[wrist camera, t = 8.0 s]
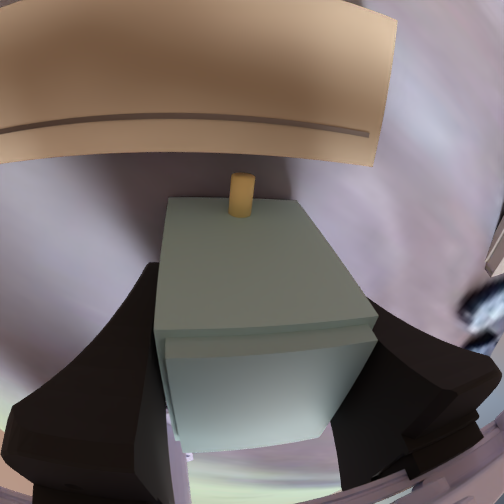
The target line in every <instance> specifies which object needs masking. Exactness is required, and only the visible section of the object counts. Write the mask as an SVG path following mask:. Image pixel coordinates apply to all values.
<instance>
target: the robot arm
mask: <svg viewBox="0 0 504 504" xmlns="http://www.w3.org/2000/svg"><path fill="white" fill-rule="evenodd" d="M159 264H160V262H149V263H148V264H147V265H146V267H145V269H144V270H143V272H142V274H141V276H140V277H139V279H138V281H137V282H136V284H135V285H134V287H133V289H132V290H131V292H130V293H129V295H128V296H127V298H126V299H125V301H124V302H123V303H122V305H121V306H120V307H119V309H118V310H117V311H116V313H115V314H114V315H113V317H112V318H111V319H110V321H109V322H108V323H107V324H106V326H105V327H104V328H103V329H102V330H101V332H100V333H99V334H98V335H97V336H96V337H95V338H94V339H93V341H92V342H91V343H90V344H89V345H88V346H87V347H86V348H85V349H84V350H83V351H82V352H81V353H80V354H79V355H78V356H77V357H76V358H75V359H74V360H73V361H72V362H71V363H70V364H68V365H67V366H66V367H65V368H64V369H63V370H61V371H60V372H59V373H58V374H57V375H55V376H54V377H53V378H52V379H51V380H49V381H48V382H47V383H46V384H44V385H43V386H41V387H40V388H39V389H37V390H36V391H34V392H33V393H31V394H30V395H28V396H27V397H25V398H24V399H23V400H21V401H20V402H18V403H16V404H15V405H13V406H12V409H11V412H10V414H9V417H8V420H7V425H6V429H5V434H4V439H3V444H2V450H1V456H2V458H3V460H4V461H5V463H6V464H8V465H9V466H10V467H11V468H12V469H14V470H15V471H16V472H18V473H19V474H20V475H22V476H24V477H25V478H26V479H28V480H29V481H31V482H32V483H34V486H33V497H32V496H28V495H25V494H22V493H19V492H15V491H12V490H9V489H7V488H3V487H0V504H192V502H191V494H190V486H189V477H188V468H187V461H192V460H193V453H183V452H182V448H181V443H180V441H175V437H174V433H173V429H172V425H171V420H170V416H169V411H168V409H166V397H165V392H164V387H163V382H162V377H161V371H160V366H159V360H158V354H157V348H156V342H155V335H154V317H155V305H156V293H157V283H158V273H159ZM367 299H368V300H369V302H370V303H371V305H372V306H373V308H374V309H375V311H376V312H377V314H378V315H379V316H378V318H377V321H376V323H375V325H374V327H373V329H372V331H373V333H374V334H375V336H376V338H377V339H378V341H377V343H376V345H375V347H374V349H373V351H372V352H371V354H370V356H369V358H368V360H367V362H366V363H365V365H364V367H363V369H362V370H361V372H360V374H359V376H358V377H357V379H356V381H355V382H354V384H353V386H352V387H351V389H350V391H349V392H348V394H347V396H346V397H345V399H344V400H343V402H342V404H341V405H340V407H339V408H338V410H337V411H336V413H335V414H334V416H333V417H332V419H331V420H330V422H331V427H332V431H333V436H334V441H335V446H336V451H337V457H338V464H339V471H340V479H341V488H342V491H343V492H339V493H336V494H333V495H329V496H325V497H321V498H317V499H313V500H309V501H305V502H300V503H296V504H374V503H376V502H379V501H382V500H384V499H386V498H389V497H391V496H394V495H396V494H398V493H400V492H403V491H405V490H407V489H409V488H411V487H413V486H414V487H413V489H412V492H411V493H409V494H408V495H405V496H404V497H401V498H399V499H397V500H396V501H394V502H392V503H390V504H494V503H495V502H496V501H497V500H498V499H499V498H500V496H501V495H502V494H503V493H504V411H503V412H501V413H500V414H499V415H498V416H497V418H496V419H495V420H494V421H492V422H491V423H489V424H488V425H486V426H485V427H483V428H481V429H479V427H478V425H477V424H476V422H475V421H476V420H477V419H478V418H479V414H478V413H477V411H476V409H477V408H478V406H480V404H481V403H482V402H483V401H484V400H485V399H486V398H487V397H488V396H489V395H490V394H491V393H492V392H493V390H494V389H495V388H496V387H497V385H498V384H499V382H500V381H501V378H502V373H501V371H500V370H499V368H498V367H497V366H496V364H495V363H494V361H493V360H492V359H491V358H490V357H489V356H487V355H483V354H480V353H476V352H473V351H469V350H466V349H463V348H460V347H457V346H455V345H452V344H450V343H447V342H444V341H442V340H440V339H437V338H435V337H433V336H431V335H429V334H427V333H425V332H423V331H421V330H419V329H417V328H415V327H413V326H411V325H409V324H407V323H406V322H404V321H402V320H401V319H399V318H397V317H396V316H394V315H392V314H391V313H389V312H388V311H386V310H385V309H383V308H382V307H380V306H379V305H377V304H376V303H374V302H373V301H372V300H370V299H369V298H367Z"/></svg>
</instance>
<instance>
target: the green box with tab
mask: <svg viewBox="0 0 504 504" xmlns="http://www.w3.org/2000/svg"><path fill="white" fill-rule="evenodd" d="M254 184H255V176H254V175H252V174H249V173H242V172H238V173H233V174H232V175H231V186H230V197H229V198H208V197H168V204H167V210H166V217H165V224H164V232H163V239H162V247H161V255H160V264H159V273H158V283H157V293H156V305H155V317H154V335H155V342H156V348H157V354H158V360H159V366H160V371H161V377H162V382H163V387H164V392H165V397H166V402H167V407H168V411H169V416H170V420H171V425H172V429H173V433H174V437H175V441H180V443H181V448H182V452H183V453H199V452H217V451H230V450H241V449H250V448H259V447H266V446H273V445H280V444H286V443H292V442H298V441H303V440H308V439H313V438H318V437H320V435H321V434H322V432H323V431H324V429H325V428H326V426H327V425H328V423H329V422H330V420H331V419H332V417H333V416H334V414H335V413H336V411H337V410H338V408H339V407H340V405H341V404H342V402H343V400H344V399H345V397H346V396H347V394H348V392H349V391H350V389H351V387H352V386H353V384H354V382H355V381H356V379H357V377H358V376H359V374H360V372H361V370H362V369H363V367H364V365H365V363H366V362H367V360H368V358H369V356H370V354H371V352H372V351H373V349H374V347H375V345H376V343H377V341H378V339H377V338H376V336H375V334H374V333H373V331H372V329H373V327H374V325H375V323H376V321H377V318H378V316H379V315H378V314H377V312H376V311H375V309H374V308H373V306H372V305H371V303H370V302H369V300H368V299H367V297H366V296H365V294H364V293H363V291H362V290H361V289H360V287H359V286H358V284H357V283H356V281H355V280H354V278H353V277H352V275H351V274H350V273H349V271H348V270H347V268H346V267H345V265H344V264H343V263H342V261H341V260H340V258H339V257H338V256H337V254H336V253H335V251H334V250H333V249H332V247H331V246H330V244H329V243H328V242H327V240H326V239H325V237H324V236H323V235H322V233H321V232H320V231H319V229H318V228H317V227H316V225H315V224H314V223H313V221H312V220H311V218H310V217H309V216H308V214H307V213H306V212H305V211H304V209H303V208H302V207H301V205H300V204H299V203H298V201H297V200H278V199H253V192H254Z"/></svg>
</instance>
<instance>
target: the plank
mask: <svg viewBox="0 0 504 504" xmlns="http://www.w3.org/2000/svg"><path fill="white" fill-rule="evenodd" d="M396 30H397V20H395V19H393V18H390V17H388V16H385V15H383V14H380V13H377V12H375V11H372V10H369V9H366V8H364V7H361V6H358V5H355V4H352V3H349V2H345V1H342V0H21V1H18V2H15V3H13V4H10V5H7V6H4V7H2V8H0V164H2V163H9V162H17V161H25V160H33V159H42V158H52V157H62V156H75V155H89V154H106V153H131V152H209V153H235V154H253V155H268V156H281V157H293V158H304V159H313V160H323V161H331V162H340V163H347V164H355V165H362V166H369V167H373V163H374V158H375V154H376V149H377V145H378V140H379V135H380V131H381V126H382V121H383V115H384V110H385V105H386V99H387V93H388V88H389V81H390V75H391V69H392V62H393V55H394V47H395V39H396Z"/></svg>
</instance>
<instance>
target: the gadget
mask: <svg viewBox="0 0 504 504" xmlns="http://www.w3.org/2000/svg"><path fill="white" fill-rule="evenodd" d="M485 262H487V264H486V266H485V270H486V271H487V273H488V274H489V276H490V277H493V276H496V275H499V274H502V273H504V216H503V218H502V220H501V222H500V224H499V226H498V228H497V230H496V231H495V234H494V237H493V240H492V243H491V246H490V249H489V251H488V254H487V257H486V260H485Z"/></svg>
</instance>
